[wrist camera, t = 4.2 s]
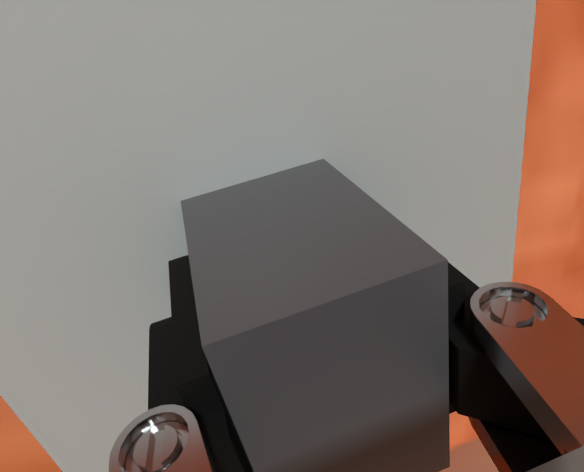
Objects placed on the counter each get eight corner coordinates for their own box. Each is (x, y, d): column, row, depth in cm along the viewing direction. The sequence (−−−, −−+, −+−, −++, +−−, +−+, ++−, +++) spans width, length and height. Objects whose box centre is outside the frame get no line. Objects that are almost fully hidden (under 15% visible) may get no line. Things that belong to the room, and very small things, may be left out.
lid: (513, -136, 9) (952, -329, 4) (486, 346, 17) (632, 489, 12) (-256, 13, 7) (-1363, -7, 2) (109, 495, 14) (85, 754, 9)
